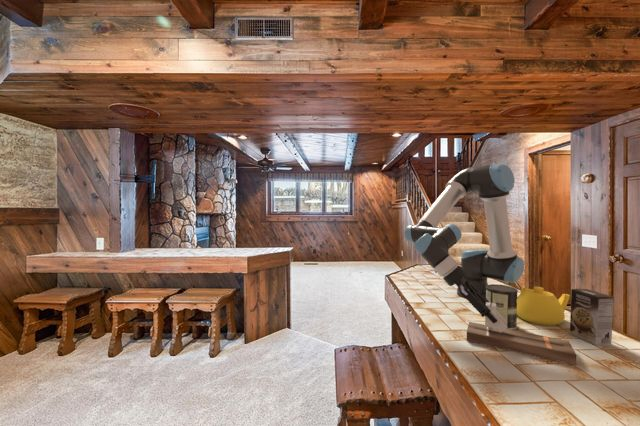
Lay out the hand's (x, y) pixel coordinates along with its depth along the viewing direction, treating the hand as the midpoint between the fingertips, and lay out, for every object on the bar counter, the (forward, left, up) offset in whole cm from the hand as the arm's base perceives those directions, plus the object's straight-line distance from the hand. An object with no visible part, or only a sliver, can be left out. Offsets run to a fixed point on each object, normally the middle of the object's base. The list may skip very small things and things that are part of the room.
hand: (503, 327), depth 96 cm
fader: (0, -4, -2) cm, 4 cm away
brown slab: (0, +4, -5) cm, 6 cm away
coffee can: (-17, 0, -5) cm, 18 cm away
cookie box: (-19, +26, -5) cm, 32 cm away
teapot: (-34, +14, -6) cm, 37 cm away
